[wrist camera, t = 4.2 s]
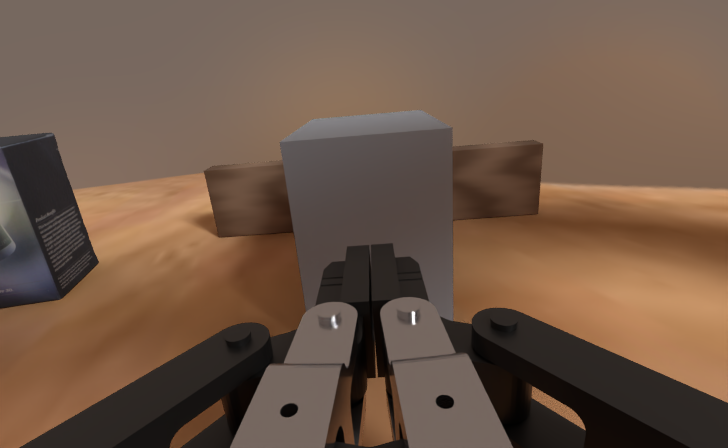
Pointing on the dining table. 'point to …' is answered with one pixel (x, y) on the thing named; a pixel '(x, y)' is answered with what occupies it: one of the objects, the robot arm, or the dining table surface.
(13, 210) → the small box
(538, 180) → the walnut board
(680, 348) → the dining table surface
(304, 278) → the slate block
